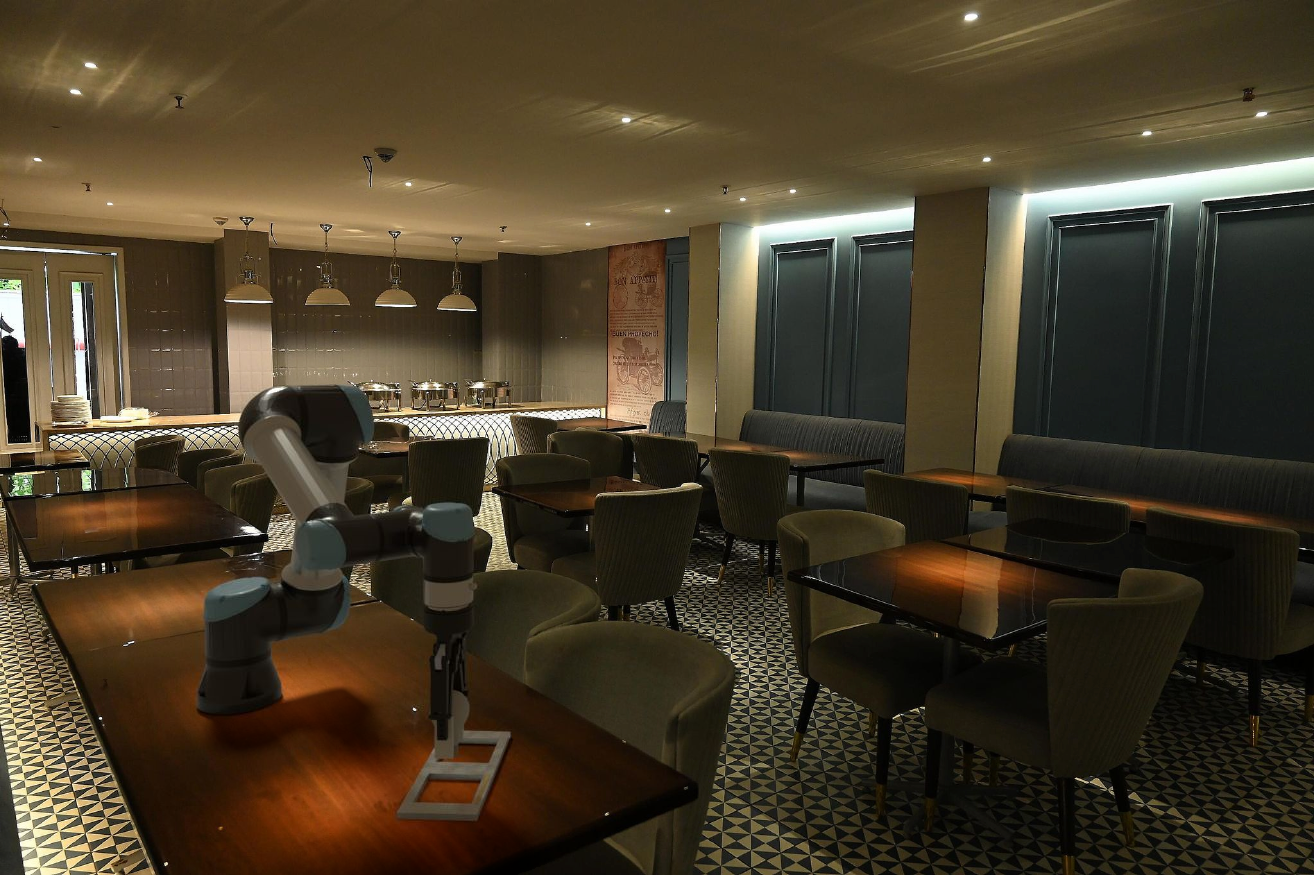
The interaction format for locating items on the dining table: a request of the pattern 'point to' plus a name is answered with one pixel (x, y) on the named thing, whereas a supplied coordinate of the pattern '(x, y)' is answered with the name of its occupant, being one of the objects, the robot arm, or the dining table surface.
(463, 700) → the lightbulb
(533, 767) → the dining table surface
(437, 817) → the grey window frame
